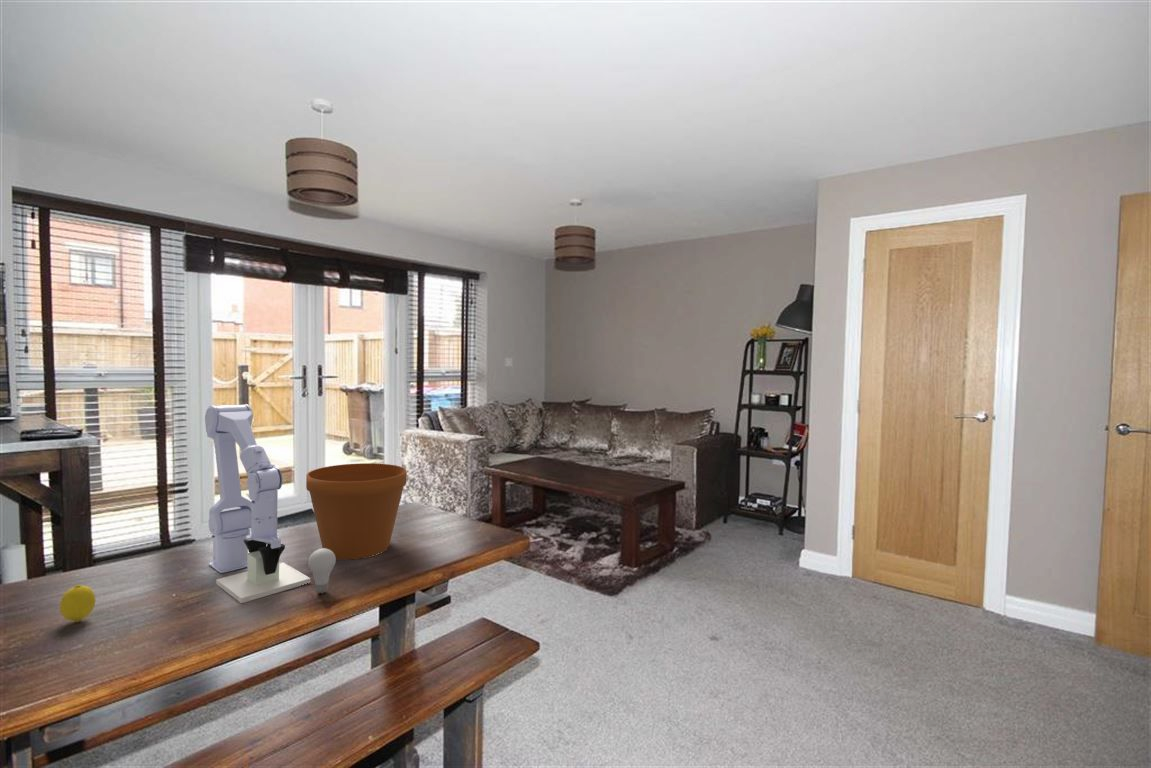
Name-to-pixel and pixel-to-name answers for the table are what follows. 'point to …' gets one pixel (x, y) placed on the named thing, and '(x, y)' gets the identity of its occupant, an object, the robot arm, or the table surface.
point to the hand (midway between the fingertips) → (263, 569)
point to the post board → (249, 591)
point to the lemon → (77, 603)
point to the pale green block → (259, 569)
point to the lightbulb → (321, 567)
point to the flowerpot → (356, 506)
